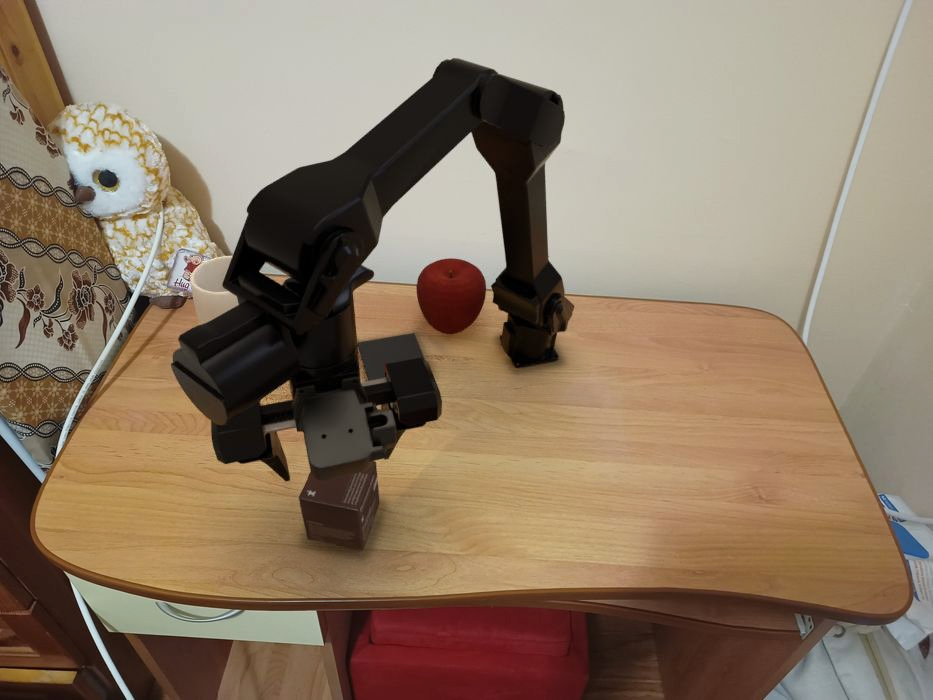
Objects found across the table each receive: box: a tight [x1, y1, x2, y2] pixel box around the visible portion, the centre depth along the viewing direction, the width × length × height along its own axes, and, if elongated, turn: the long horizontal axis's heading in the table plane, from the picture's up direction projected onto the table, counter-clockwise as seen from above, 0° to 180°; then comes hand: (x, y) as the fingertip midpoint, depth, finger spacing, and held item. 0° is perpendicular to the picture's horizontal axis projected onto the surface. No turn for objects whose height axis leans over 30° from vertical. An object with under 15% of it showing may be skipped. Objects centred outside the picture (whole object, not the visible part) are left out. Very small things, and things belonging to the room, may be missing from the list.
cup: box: [189, 255, 262, 325], centre depth 77 cm, size 8×8×14 cm
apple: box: [415, 257, 487, 335], centre depth 87 cm, size 10×10×10 cm
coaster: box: [357, 332, 425, 381], centre depth 84 cm, size 8×8×1 cm
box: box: [298, 460, 381, 551], centre depth 63 cm, size 6×6×7 cm
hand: (337, 466), depth 59 cm, fingers open, 9 cm apart
